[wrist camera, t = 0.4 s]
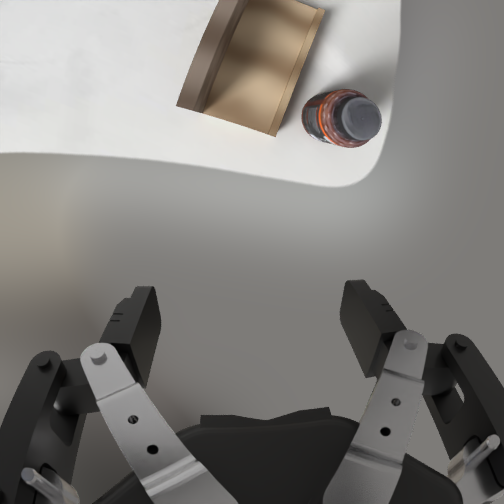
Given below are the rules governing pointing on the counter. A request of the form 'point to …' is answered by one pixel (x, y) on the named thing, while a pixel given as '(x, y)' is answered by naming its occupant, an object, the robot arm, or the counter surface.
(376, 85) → the counter surface
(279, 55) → the cleat board
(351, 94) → the supplement bottle
